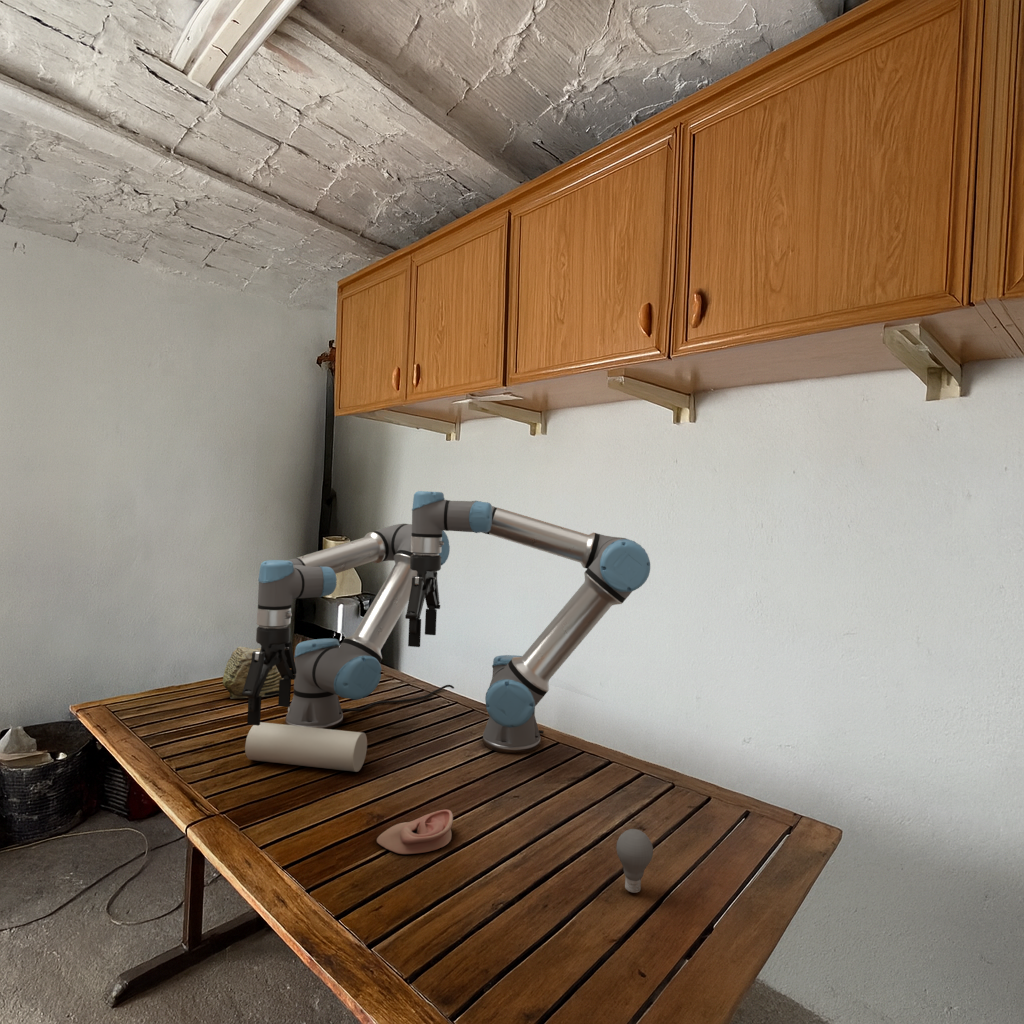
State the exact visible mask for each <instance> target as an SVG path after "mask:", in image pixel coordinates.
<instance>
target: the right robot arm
mask: <svg viewBox="0 0 1024 1024" xmlns="http://www.w3.org/2000/svg"><path fill="white" fill-rule="evenodd" d="M411 524H412V536H411V552H412V553H413V554H412V555H411V557H410V569H411V570H414V571H417V576H413V577H412V586H411V591H410V597H409V601H408V603H407V608H406V613H405V617H404V618H405V619H406V620H408V636H407V637H408V639H407V647H412V648H420V647H421V637H422V636H421V634H422V618H421V615H422V611H423V608H424V603H425V604H426V608H425V619H424V635H425V636H436V635H437V617H438V616H437V614H438V613H437V611H438V610H440V609H441V604H440V603H441V602H440V595H439V593H440V592H439V583H438V572H439V571H441V569H442V565H441V556H440V555H439V553H441V548H442V546H441V545H444V542H443V541H442V531H444V532H462V533H474V534H479V533H482V534H485V535H489V536H492V537H496V538H499V539H503V540H505V541H508V542H512V543H515V544H519V545H522V546H525V547H528V548H532V549H535V550H538V551H541V552H545V553H548V554H551V555H553V556H557V557H561V558H564V559H566V560H567V559H568V560H571V561H574V562H577V563H580V564H581V567H582V568H584V569H586V570H585V571H584V572H583V575H584V582H583V583H582V584H581V585H580V587H579V588H578V589H577V591H575V592H574V594H573V595H572V596H571V598H570V599H569V600H568V601H567V602H566V603H565V605H564V606H563V607H562V608H561V609H560V611H559V612H558V613H556V615H555V616H554V618H553V619H552V620H551V621H550V622H549V624H548V625H547V626H546V627H545V628H544V629H543V631H542V632H541V633H540V635H538V637H537V638H535V640H534V641H533V643H531V645H530V646H529V647H528V649H527V650H526V651H525V652H524V653H523V655H518V654H517V655H514V654H503V655H497V656H495V657H494V658H493V661H492V665H491V667H492V677H491V681H490V683H489V686H488V688H487V691H486V693H485V708H486V711H487V712H486V713H487V714H488V715H489V717H488V719H487V723H486V725H485V727H484V728H485V729H484V730H483V733H482V744H483V745H484V747H486V748H487V749H489V750H491V751H494V752H498V753H502V754H526V753H531V752H534V751H535V750H537V749H538V748H539V747H540V746H541V735H543V734H544V733H545V731H544V730H541V729H539V726H538V723H537V718H536V714H535V713H536V706H537V705H538V704H539V703H540V701H542V699H543V698H544V697H545V696H546V694H547V693H548V692H549V691H550V680H551V679H552V677H553V676H554V675H555V674H556V672H557V671H558V670H559V669H560V668H561V667H562V666H563V664H564V663H565V662H566V661H567V660H568V659H569V658H570V656H571V655H572V654H573V653H574V651H575V650H576V649H577V648H578V646H579V645H580V644H581V643H582V642H583V641H584V639H585V638H586V637H587V636H588V635H589V634H590V632H592V630H593V629H594V628H595V626H596V625H597V624H598V623H599V622H600V621H601V619H602V618H603V617H604V616H605V614H606V613H607V612H608V611H609V610H610V609H611V608H612V606H615V605H617V606H618V605H622V604H623V603H624V602H625V601H626V600H627V599H628V597H629V596H630V595H631V594H632V593H633V592H635V591H636V590H638V589H640V588H641V587H642V586H643V585H644V584H645V583H646V582H647V580H648V578H649V576H650V573H651V561H650V557H649V553H647V551H646V548H644V547H643V546H642V545H641V544H639V543H637V542H636V541H635V540H632V539H628V538H626V537H618V536H612V535H611V536H610V535H604V534H602V533H601V534H600V533H597V532H594V531H593V532H592V533H590V534H587V533H584V532H581V531H577V530H574V529H570V528H567V527H563V526H560V525H557V524H554V523H550V522H547V521H544V520H540V519H537V518H534V517H531V516H527V515H523V514H520V513H517V512H514V511H510V510H508V509H504V508H501V507H495V506H493V505H492V504H491V503H490V502H486V501H481V500H448V499H445V494H444V493H443V491H426V490H418V491H416V492H415V493H414V494H413V499H412V508H411Z"/></svg>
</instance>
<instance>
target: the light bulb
mask: <svg viewBox="0 0 1024 1024" xmlns="http://www.w3.org/2000/svg"><path fill="white" fill-rule="evenodd" d="M615 849H616V854H617V857H618V859H619V861H620V863H621V865H622V867H623V873H624V874H623V875H624V876H625V878H624V888H625V890H627V891H628V892H630V893H634V894H635V893H639V892H640V891H641V889H642V887H641V886H642V879H643V877H644V875H645V871H646V868H647V867H648V866H649V864H650V863H651V861H652V859H653V855H654V847H653V843H652V841H651V838H649V836H648V835H647V834H646V833H645V832H643V831H642V830H641V829H636V828H629V829H627V830H625V831H623V832H622V833H621V834H620V835H619V837H618V839H617V841H616V847H615Z"/></svg>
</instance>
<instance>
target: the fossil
mask: <svg viewBox="0 0 1024 1024" xmlns="http://www.w3.org/2000/svg"><path fill="white" fill-rule="evenodd" d="M260 650H261V647H258V648H251V647H247V646H246V647H245V646H238V647H237V648H236V649H235V650H233V651H232V653H231V656H230V657H229V659H228V660H227V663H226V666H225V668H224V671H223V675H222V676H223V677H222V685H223V687H224V688H225V690H226V691H228V693H229V698H230V699H248V696H243V695H242V692H243V689H244V685H245V682H246V678H247V675H248V671H249V668H250V665H251V660H252V653H253V651H257V652H260ZM257 662H258V661H257ZM280 679H283V678H282V677H281V675H280V673H279V671H278V669H277V667H276V665H275V666H273V668H272V669H271V670H270V671H269V672H268V675H267V677H266V680H265V682H264V685H263V687H262V689H261V692H260V694H259V696H261V698H264V697H271V696H275V695H279V680H280Z"/></svg>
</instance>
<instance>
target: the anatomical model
mask: <svg viewBox="0 0 1024 1024" xmlns="http://www.w3.org/2000/svg"><path fill="white" fill-rule="evenodd" d="M453 823H454V815H453V811H451V810H450V809H441V810H436V811H433V812H431V813H427V814H425V815H423V816H420V817H418V818H416V819H414V820H411V821H407V822H400V823H396V824H394V825H393V826H390V827H389V828H387V829H386V830H385V831H383V832H382V833H381V834H379V835H378V836H377V838H376V843H377V844H378V845H379V846H380V847H382V848H384V849H386V850H388V851H390V852H392V853H395V854H399V855H414V854H422V853H428V852H432V851H436V850H438V849H440V848H443V847H445V846H447V845H448V844H449V843H450V842H451V840H452V835H453V834H452V829H451V828H452V827H453Z"/></svg>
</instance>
